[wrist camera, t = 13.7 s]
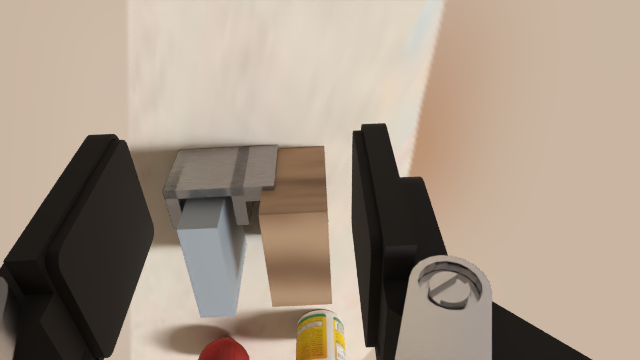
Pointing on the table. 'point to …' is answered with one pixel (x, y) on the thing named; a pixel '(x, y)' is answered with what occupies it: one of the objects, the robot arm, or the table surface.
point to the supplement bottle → (320, 336)
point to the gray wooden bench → (221, 177)
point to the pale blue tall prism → (213, 253)
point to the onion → (224, 350)
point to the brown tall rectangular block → (297, 229)
